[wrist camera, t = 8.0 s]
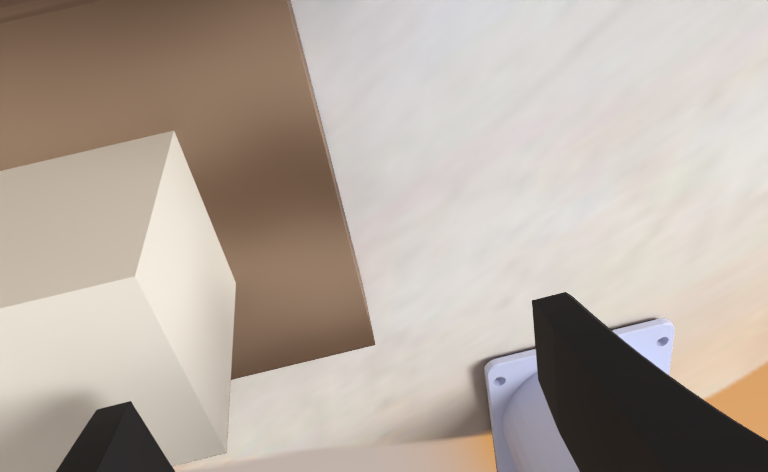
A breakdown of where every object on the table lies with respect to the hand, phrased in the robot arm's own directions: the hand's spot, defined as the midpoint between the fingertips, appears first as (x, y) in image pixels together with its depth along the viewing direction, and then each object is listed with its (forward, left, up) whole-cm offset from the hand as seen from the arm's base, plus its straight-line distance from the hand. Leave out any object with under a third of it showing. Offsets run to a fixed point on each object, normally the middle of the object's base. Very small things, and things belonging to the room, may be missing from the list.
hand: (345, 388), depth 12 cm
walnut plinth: (0, +6, -10) cm, 12 cm away
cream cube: (0, +6, -7) cm, 9 cm away
